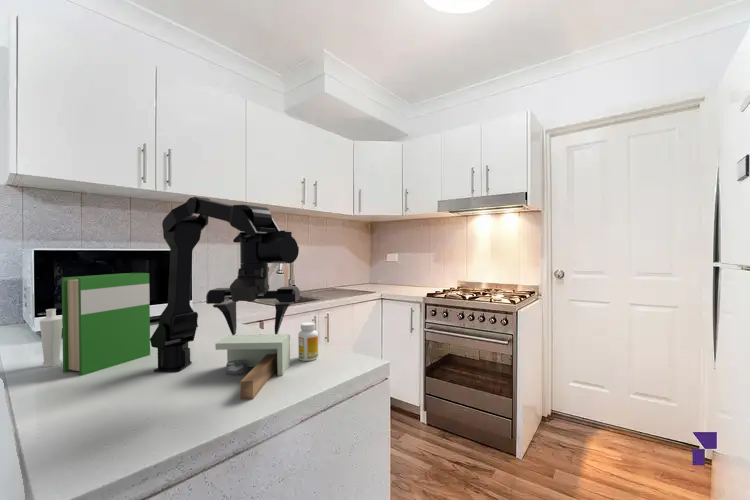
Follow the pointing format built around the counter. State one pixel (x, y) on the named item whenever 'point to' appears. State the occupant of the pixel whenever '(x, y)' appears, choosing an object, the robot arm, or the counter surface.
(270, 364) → the walnut bar
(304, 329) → the supplement bottle
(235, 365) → the steel puck
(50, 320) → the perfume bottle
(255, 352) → the sage shelf
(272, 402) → the counter surface
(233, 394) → the counter surface
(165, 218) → the robot arm
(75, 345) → the hardback book
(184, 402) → the counter surface
